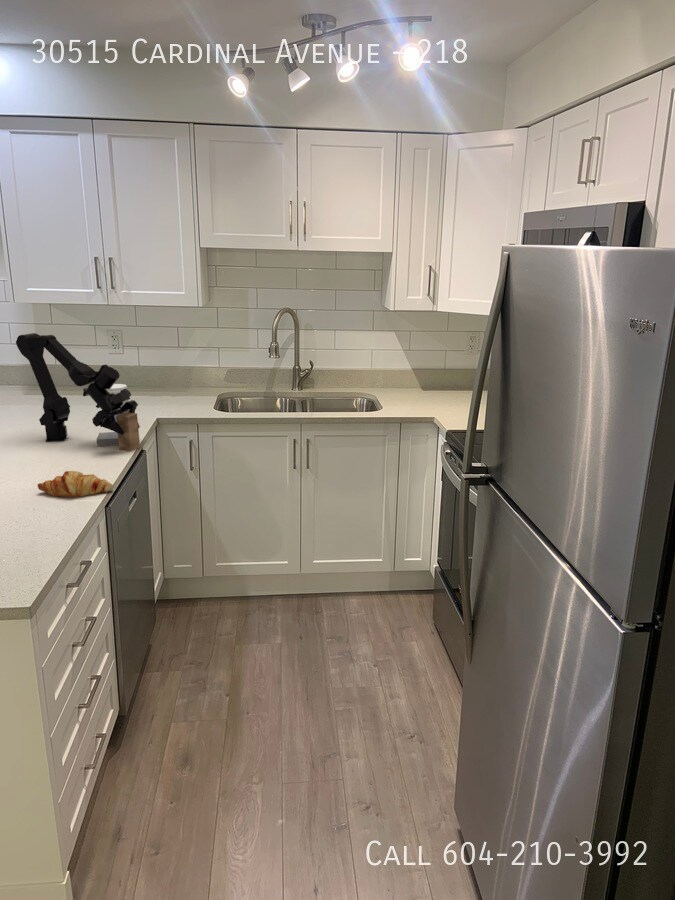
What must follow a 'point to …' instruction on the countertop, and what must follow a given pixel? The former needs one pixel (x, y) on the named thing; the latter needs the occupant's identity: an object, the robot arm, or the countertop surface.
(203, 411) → the countertop surface
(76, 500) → the countertop surface
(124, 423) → the walnut pillar
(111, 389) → the supplement tub
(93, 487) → the croissant
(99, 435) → the light grey plinth
